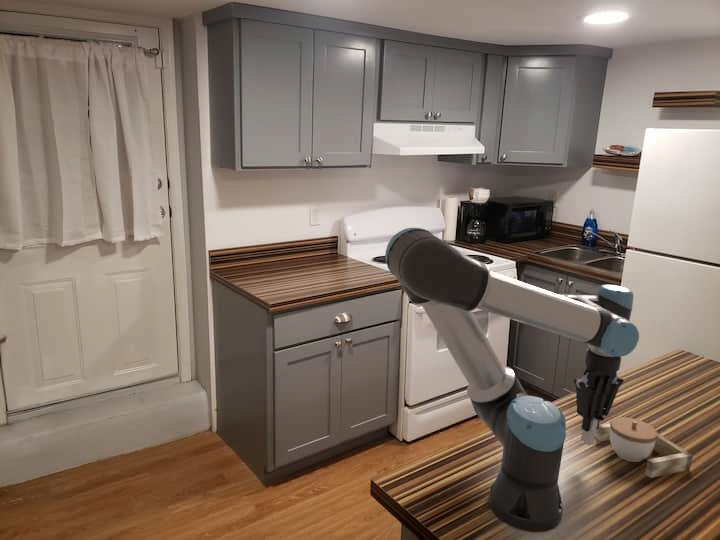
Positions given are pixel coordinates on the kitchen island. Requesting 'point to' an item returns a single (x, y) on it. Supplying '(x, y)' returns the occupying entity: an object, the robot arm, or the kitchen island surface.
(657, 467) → the birch dock
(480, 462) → the kitchen island surface
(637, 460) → the lidded jar
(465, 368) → the robot arm
